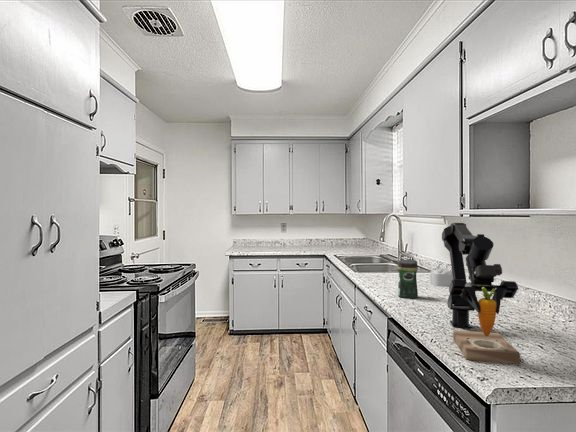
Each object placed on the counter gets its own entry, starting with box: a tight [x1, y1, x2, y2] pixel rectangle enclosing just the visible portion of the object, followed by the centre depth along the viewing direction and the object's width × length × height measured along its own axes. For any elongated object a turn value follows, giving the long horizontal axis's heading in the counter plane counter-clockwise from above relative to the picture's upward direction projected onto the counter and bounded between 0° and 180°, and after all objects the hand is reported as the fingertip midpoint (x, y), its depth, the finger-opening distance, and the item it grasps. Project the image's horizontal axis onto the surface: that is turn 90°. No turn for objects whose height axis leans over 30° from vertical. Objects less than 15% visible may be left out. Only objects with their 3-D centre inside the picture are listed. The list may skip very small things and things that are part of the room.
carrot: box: [477, 287, 497, 337], centre depth 115 cm, size 5×5×15 cm
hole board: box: [452, 329, 521, 365], centre depth 118 cm, size 18×14×3 cm
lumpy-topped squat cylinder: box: [429, 268, 453, 288], centre depth 222 cm, size 10×13×9 cm
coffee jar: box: [397, 259, 419, 299], centre depth 190 cm, size 10×8×19 cm
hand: (488, 312), depth 113 cm, fingers closed on carrot, 5 cm apart
